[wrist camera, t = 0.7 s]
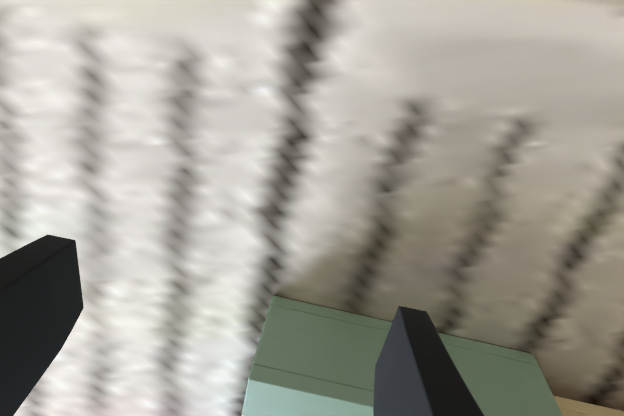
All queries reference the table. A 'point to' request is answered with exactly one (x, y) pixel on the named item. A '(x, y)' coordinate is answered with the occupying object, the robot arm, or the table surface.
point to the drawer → (584, 408)
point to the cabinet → (371, 367)
